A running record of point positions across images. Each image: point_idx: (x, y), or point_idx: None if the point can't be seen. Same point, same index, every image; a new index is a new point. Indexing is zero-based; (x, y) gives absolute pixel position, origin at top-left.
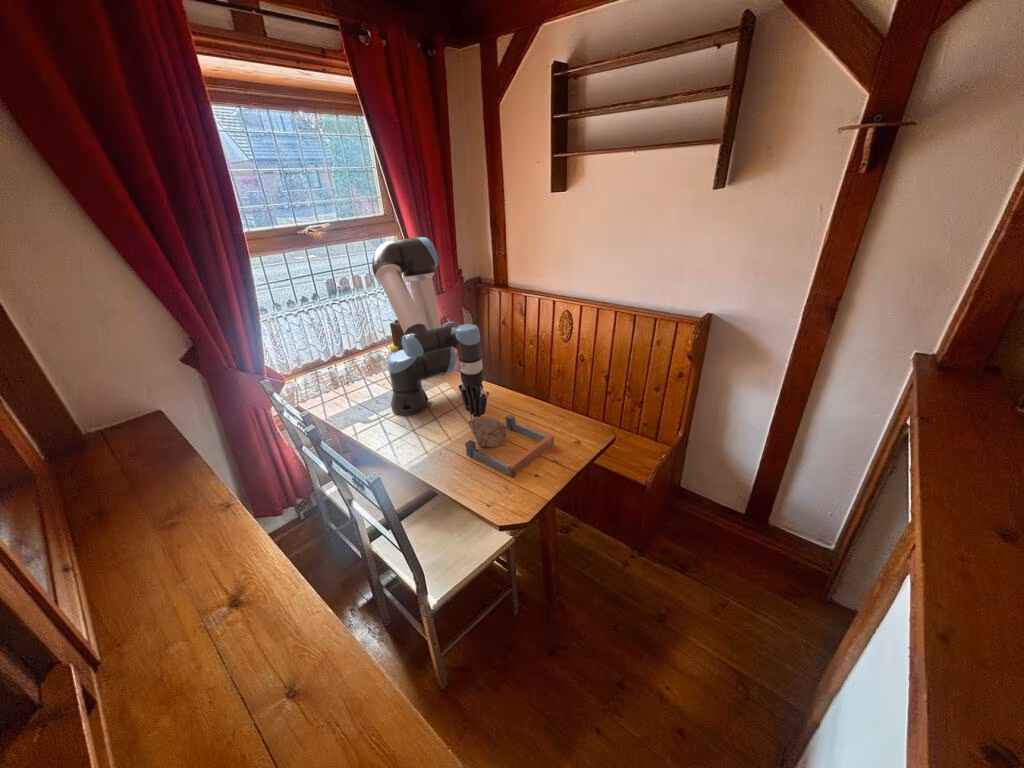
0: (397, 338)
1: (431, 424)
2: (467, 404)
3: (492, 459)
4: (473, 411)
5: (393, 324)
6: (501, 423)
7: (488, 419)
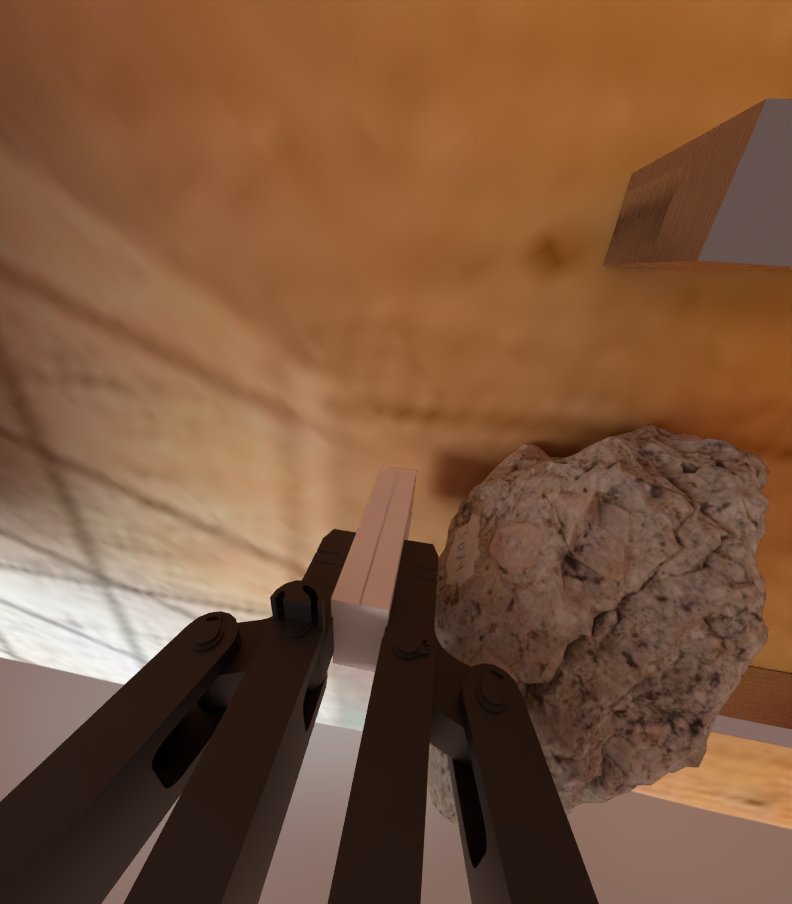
0: None
1: (96, 509)
2: (171, 791)
3: (724, 730)
4: (320, 675)
5: None
6: (756, 545)
7: (662, 770)
